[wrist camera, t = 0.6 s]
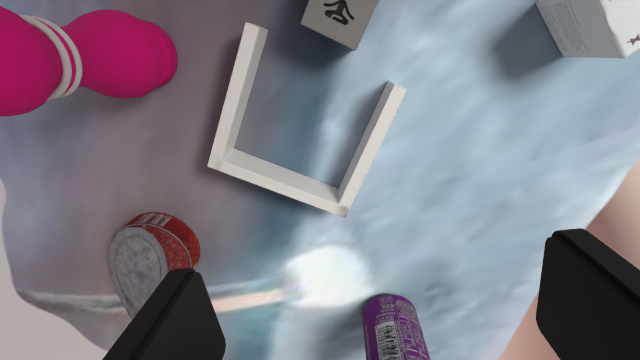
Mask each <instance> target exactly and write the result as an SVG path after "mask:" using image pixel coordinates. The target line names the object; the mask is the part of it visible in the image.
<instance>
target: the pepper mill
mask: <svg viewBox="0 0 640 360" xmlns="http://www.w3.org/2000/svg"><path fill="white" fill-rule="evenodd" d="M176 68H177V53H176V49H175V47H174V44H173V42H172V41H171V39H170V37H169V36H168V35H167V34H166V33H165V32H164V31H163V30H162V29H161V28H160V27H158V26H157V25H155V24H153V23H151V22H148V21H143V20H139V19H138V18H136V17H134V16H132V15H130V14H128V13H125V12H122V11H117V10H97V11H93V12H90V13H87V14H84V15H82V16H80V17H78V18H77V19H75V20H74V21H73V22H71V23H70V24H68V25H67V26H65V27H58V26H57V25H56V24H54V23H52V22H51V21H49V20H46V19H44V18H41V17H38V16H26V15H20V14H15V13H13V12H11V11H10V10H7V9H5V8H3V7H1V6H0V116H13V115H19V114H24V113H27V112H30V111H33V110H35V109H36V108H38V107H40V106H41V105H43V104H44V103H45V102H46V101H47V100H52V99H55V98H63V97H66V96H69V95H70V94H71V93H73V92H74V91H75V90H76V89H77V87H86V88H89V89H91V90H93V91H96V92H98V93H100V94H103V95H106V96H111V97H116V98H136V97H140V96H143V95H145V94H147V93H149V92H151V91H152V90H153V89H154V88H155V87H159V86H162V85H164V84H166V83H168V82H169V81H170V80H171V79H172V77H173V76H174V74H175V72H176Z"/></svg>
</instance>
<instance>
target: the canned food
mask: <svg viewBox="0 0 640 360" xmlns="http://www.w3.org/2000/svg"><path fill="white" fill-rule="evenodd" d="M199 257H200V246H199V242H198V240H197V238H196V236H195V234H194V233H193V231H192V230H191V229H190V228H189V227H188V226H187V225H186V224H185V223H184V222H182V221H181V220H179V219H177V218H175V217H173V216H171V215H168V214H164V213H158V212H150V213H144V214H141V215H139V216H137V217H135V218H134V219H133V220H131V221H130V222H129V223H128V224H127V225H126V226H124V227H123V228H122V229H120V230H119V231H118V232H117V233H116V234H115V235H114V237H113V239H112V241H111V244H110V251H109V256H108V261H109V266H110V275H111V278H112V280H113V282H114V286H115V290H116V292H117V294H118V295H119V297H120V300H121V302H122V304H123V306H124V307H125V308H126V310H127V312H128V315H129V316H130V317H131V318H132V319H133V318H134V317H135V316H136V314H137V313H138V312H139V310H140V309H141V308H142V306H143V305H144V304H145V302H146V301H147V300H148V298H149V297H150V296H151V294H152V293H153V292H154V290H155V289H156V288H157V286H158V285H159V284H160V282H161V281H162V280H163V278H164V277H165V276H166V274H167V273H168V272H169V271H170V270H173V269H182V268H193V269H194V268H195V266H196V265H197V263H198V261H199Z"/></svg>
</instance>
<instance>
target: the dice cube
mask: <svg viewBox="0 0 640 360" xmlns="http://www.w3.org/2000/svg"><path fill="white" fill-rule="evenodd" d="M377 3H378V0H309V2H308V5H307V7H306V10H305V13H304V15H303V18H302V21H301V24H302V25H303V26H305V27H307V28H309V29H311V30H313V31H315V32H317V33H319V34H321V35H323V36H325V37H327V38H329V39H331V40H333V41H335V42H337V43H340V44H342V45H344V46H346V47H348V48H350V49H352V50H356V49H357V47H358V45H359V42H360V40H361V38H362V36H363V34H364V31H365V29H366V27H367V25H368V23H369V20H370V18H371V16H372V14H373V11H374V9H375V7H376V5H377Z"/></svg>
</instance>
